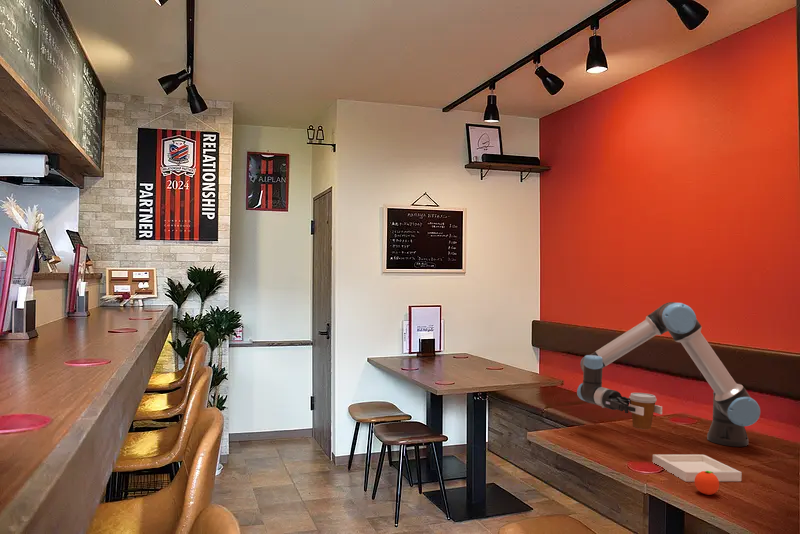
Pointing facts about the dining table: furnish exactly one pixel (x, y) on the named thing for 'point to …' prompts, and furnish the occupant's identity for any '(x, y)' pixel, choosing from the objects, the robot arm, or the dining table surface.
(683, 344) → the robot arm
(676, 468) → the cream tray
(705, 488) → the clementine
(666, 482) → the dining table surface
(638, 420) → the disposable coffee cup
